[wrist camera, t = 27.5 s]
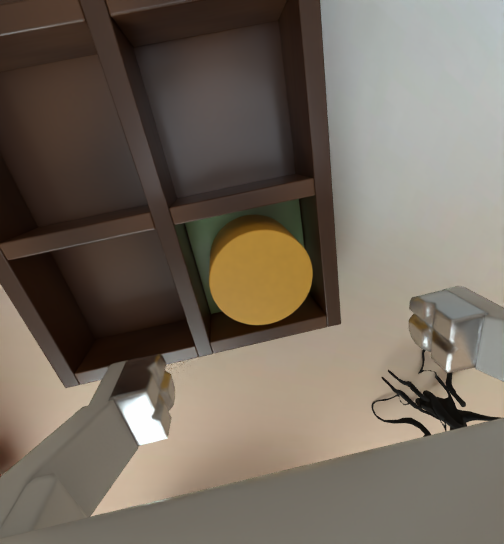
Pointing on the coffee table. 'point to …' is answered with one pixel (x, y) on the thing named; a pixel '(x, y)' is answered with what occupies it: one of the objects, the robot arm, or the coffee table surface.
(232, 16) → the grid
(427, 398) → the creature
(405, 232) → the coffee table surface
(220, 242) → the cylinder
